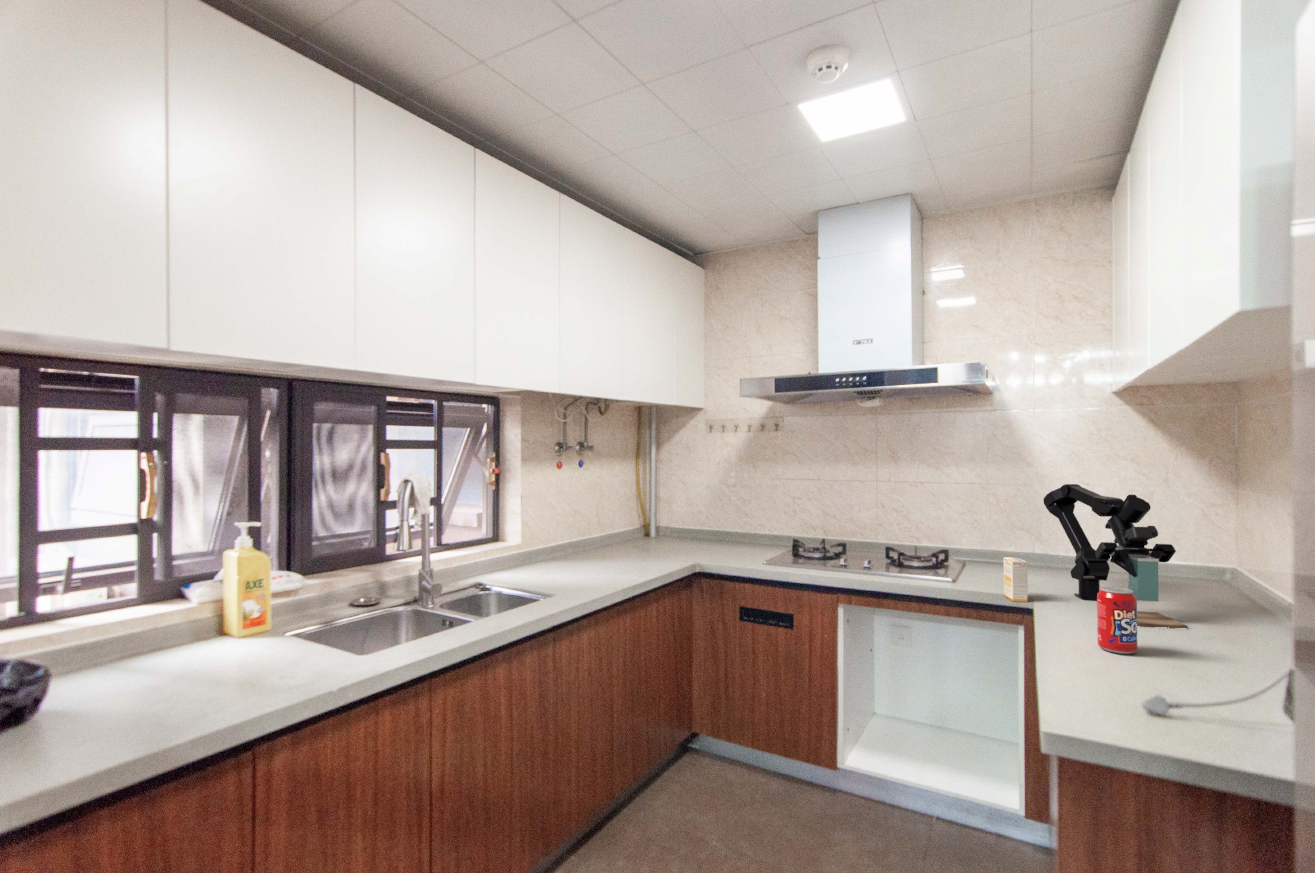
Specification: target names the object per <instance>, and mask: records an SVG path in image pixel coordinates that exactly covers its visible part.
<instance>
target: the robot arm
mask: <svg viewBox="0 0 1315 873" xmlns="http://www.w3.org/2000/svg"><path fill="white" fill-rule="evenodd" d="M1077 502H1080V503H1082V504H1083V505H1086V506H1089V507H1090V508H1091V511H1092V512H1093V513H1095V515H1097V516H1099V517H1104V518H1105V517H1106V518H1107V517H1110V518H1109V519H1107V522H1106V524H1105V526H1104V528H1105V529H1109V530H1111V531H1112V533H1113V536H1114V540H1113V541H1112V542H1110V541H1107V542H1106V541H1105V542H1104V541H1101V542H1100V543H1099V544H1098V546H1097V548H1096V549H1094V548H1093V547H1092V544H1091V543H1090V541H1089V539H1088V537H1087V535H1086V534H1085V532H1084V529H1083V528H1082V526H1081V524H1080V522H1079V521H1078V518H1077V516H1076V515H1075V513H1074V511H1075V507H1076V503H1077ZM1043 504H1044V506H1045V508H1046V509H1047V511H1048V512H1049V513H1050V514H1051V515H1053V516H1054V517H1056V518H1057V519H1058V521H1059V523H1060V525H1061V526H1062V528H1063V530H1064V532H1065V535H1066V536H1067V538H1068V540H1069V543H1070V544H1071V546H1072V548H1073V550H1074V552H1075V559H1074V563H1075V566H1073V567H1072V569H1071V570H1070V576H1071V578H1072V579H1076V580H1078V593H1073V595H1074V596H1076V597H1077V598H1079V599H1081V600H1090V601H1091V600H1092V601H1097V594H1098V592H1099V591H1100V590H1101V589H1100V588H1101V587H1100V586H1101V585H1100V584H1101V583H1100V581H1107V580H1108V576H1109V572H1110V568H1111V567H1110V564H1109V561H1110V563H1113V564H1116V565H1117V566H1118V567H1120V568H1121V569H1122V570H1124V571H1125V572H1127V573H1128V575H1129V574H1131V575H1132V576H1133V577H1136V572H1135V569H1134V567H1133V565H1132V563H1131V561H1130V559H1129V556H1128V555H1144V556H1151V557H1154V558H1157V559H1159V562H1158V563H1168V562H1170V560H1171V559H1172V558H1173V556H1174V555H1175V554H1176V552H1177V551H1176V548H1175V546H1174V545H1172V544H1170V543H1155V544H1154V546H1153V547H1152V548H1147V547H1145V546H1148V544H1149V542H1148V541H1149V540H1151V539H1155V538H1157V537H1158V536H1159V531H1158V529H1157V528H1156V526H1155V525H1147V526H1135V524H1137V523H1140V522H1141V520H1143V518H1144V517H1145V516H1146V515H1147V514H1148V513H1149V511H1150V510H1151V504H1150V503H1149V502H1148V501H1146V500H1145V499H1142V498H1141V497H1138V496H1137V495H1136V494H1128V495H1127V496H1126V497H1125V499H1124V500H1123V499H1122V498H1119V497H1114V496H1105V495H1100V494H1099V493H1097V492H1094V491H1092V490H1089V489H1087V488H1085V487H1083V486H1081V485H1080V484H1076V483H1073V484H1072V483H1067V484H1066V483H1065V484H1063V485H1061V486H1060V487H1059V488H1056V489H1054V490H1051V491H1050V492H1048V493H1047V494H1046V495H1045V496H1044V497H1043Z"/></svg>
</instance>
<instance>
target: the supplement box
mask: <svg viewBox="0 0 1315 873" xmlns="http://www.w3.org/2000/svg"><path fill="white" fill-rule="evenodd" d="M1028 589H1029V587H1028V561H1026V560H1024V559H1022V558H1020V557H1014V556H1013V557H1009V556H1008V557H1007V556H1004V557H1003V596H1004V595H1005V596H1004V597H1006V598H1007V599H1009V600H1010V601H1012V602H1017V603H1018V602H1019V603H1020V602H1021V603H1024V602H1025V603H1028V602H1029V601H1028V599H1029V597H1028V594H1029V593H1028Z"/></svg>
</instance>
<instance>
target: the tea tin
mask: <svg viewBox="0 0 1315 873" xmlns="http://www.w3.org/2000/svg"><path fill="white" fill-rule="evenodd" d="M1128 556H1129V559H1130V561H1131V563H1132V565H1133V567H1134V569H1135V572H1136V577H1133V576H1132V575H1131V574H1129V573H1128V589H1129V590H1132V591H1133V594H1134V596H1135V597H1136V598H1137V601H1142V602H1159V563H1160V562H1159V559H1157V558H1154V557H1151V556H1144V555H1128Z"/></svg>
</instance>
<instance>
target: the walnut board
mask: <svg viewBox="0 0 1315 873" xmlns="http://www.w3.org/2000/svg"><path fill="white" fill-rule="evenodd" d="M1137 626H1140V627H1141V628H1155V627H1167V628H1166V629H1175V628H1188V625H1187V624H1185V623H1182V622H1180V621H1178V620H1176V619H1173V618H1171V617H1169V616H1166V615H1165V614H1162V613H1160V612H1158V611H1145V610H1143V611H1140V610H1139V611H1138V610H1137ZM1140 627H1139V628H1140ZM1168 627H1169V628H1168Z"/></svg>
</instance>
